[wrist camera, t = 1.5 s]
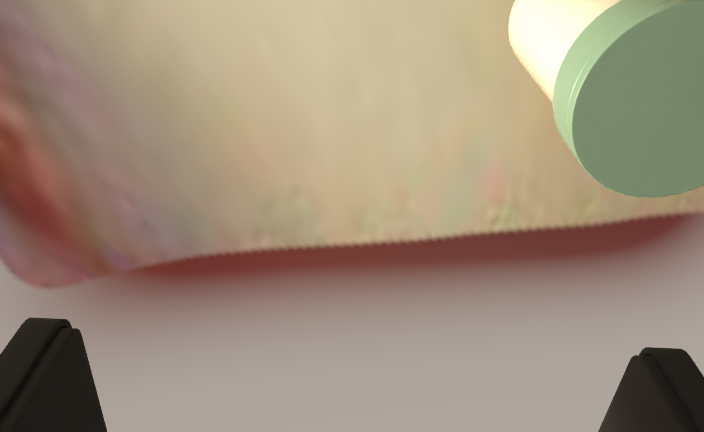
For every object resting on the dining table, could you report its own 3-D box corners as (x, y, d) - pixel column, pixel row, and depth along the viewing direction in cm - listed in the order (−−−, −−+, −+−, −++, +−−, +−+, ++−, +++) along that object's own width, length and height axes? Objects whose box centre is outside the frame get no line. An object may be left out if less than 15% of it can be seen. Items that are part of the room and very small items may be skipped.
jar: (535, -58, 29) (631, -9, 19) (651, -28, 30) (803, 35, 20) (491, 63, 32) (552, 160, 22) (596, 88, 33) (701, 192, 23)
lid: (605, -41, 20) (633, -29, 18) (794, 8, 21) (841, 25, 19) (523, 149, 24) (538, 176, 22) (684, 184, 25) (714, 214, 23)
